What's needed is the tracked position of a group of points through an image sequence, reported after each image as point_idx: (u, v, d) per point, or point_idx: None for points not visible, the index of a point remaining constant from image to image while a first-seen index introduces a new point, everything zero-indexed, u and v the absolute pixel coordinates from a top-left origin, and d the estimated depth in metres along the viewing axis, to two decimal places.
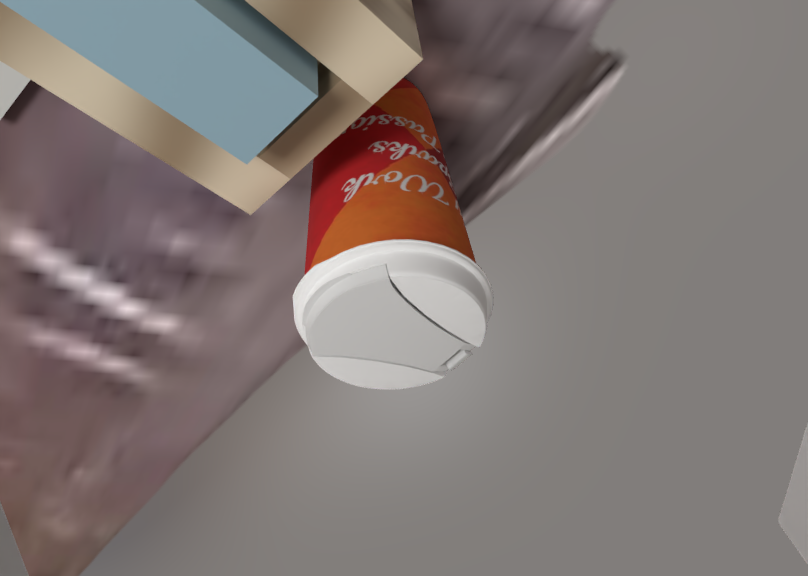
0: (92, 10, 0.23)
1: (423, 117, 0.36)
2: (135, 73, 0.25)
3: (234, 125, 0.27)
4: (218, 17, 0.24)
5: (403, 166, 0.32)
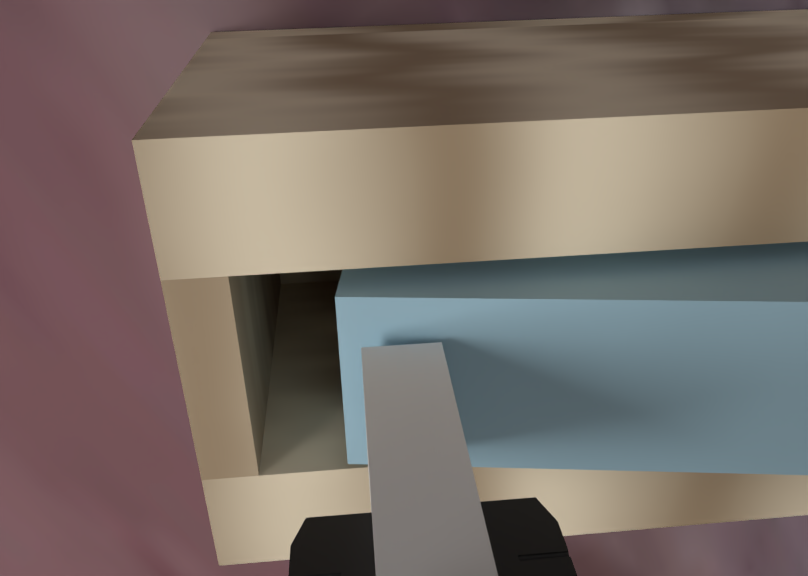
0: None
1: None
2: None
3: None
4: None
5: None
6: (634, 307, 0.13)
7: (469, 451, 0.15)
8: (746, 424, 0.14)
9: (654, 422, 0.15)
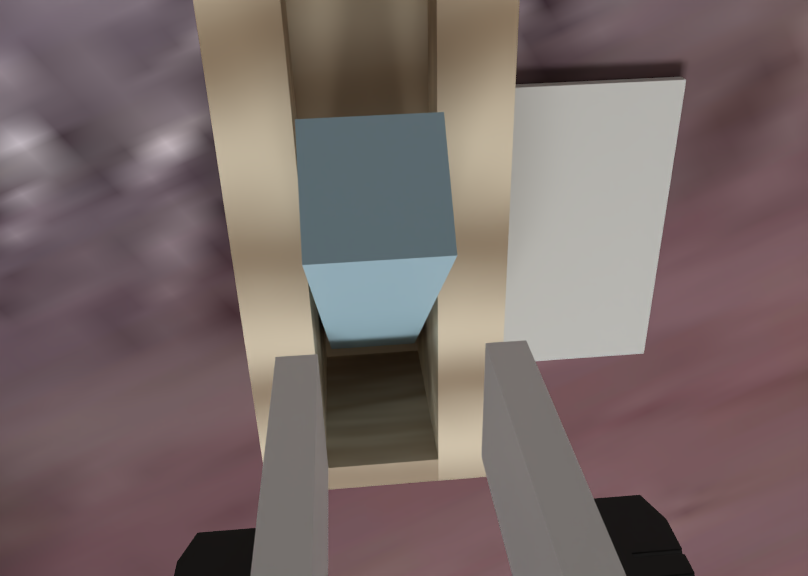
0: (387, 308, 0.26)
1: None
2: (420, 294, 0.24)
3: (412, 270, 0.21)
4: (313, 296, 0.23)
5: None
6: (329, 332, 0.31)
7: (409, 336, 0.34)
8: (394, 318, 0.28)
9: (393, 325, 0.30)
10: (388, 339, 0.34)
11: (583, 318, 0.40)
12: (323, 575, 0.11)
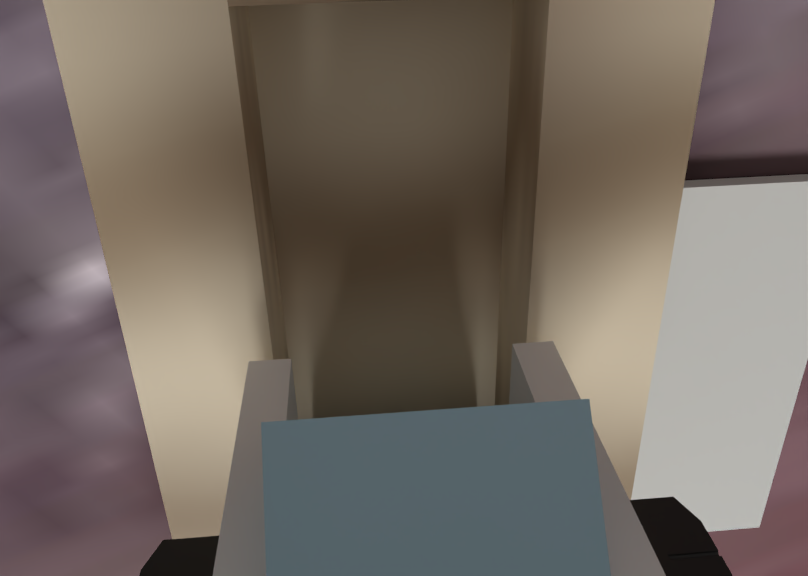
0: None
1: None
2: None
3: None
4: None
5: None
6: None
7: None
8: None
9: None
10: None
11: (682, 487, 0.29)
12: None
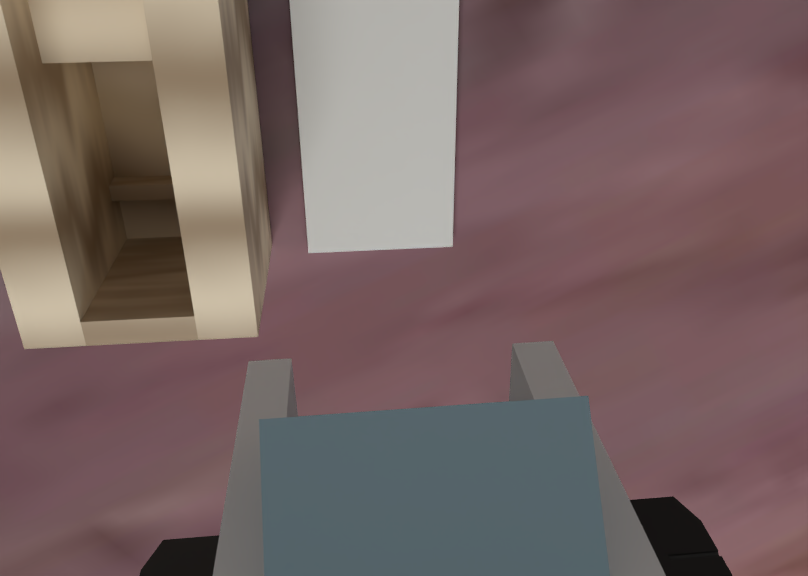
0: None
1: None
2: None
3: None
4: None
5: None
6: None
7: None
8: None
9: None
10: None
11: (386, 207, 0.40)
12: None
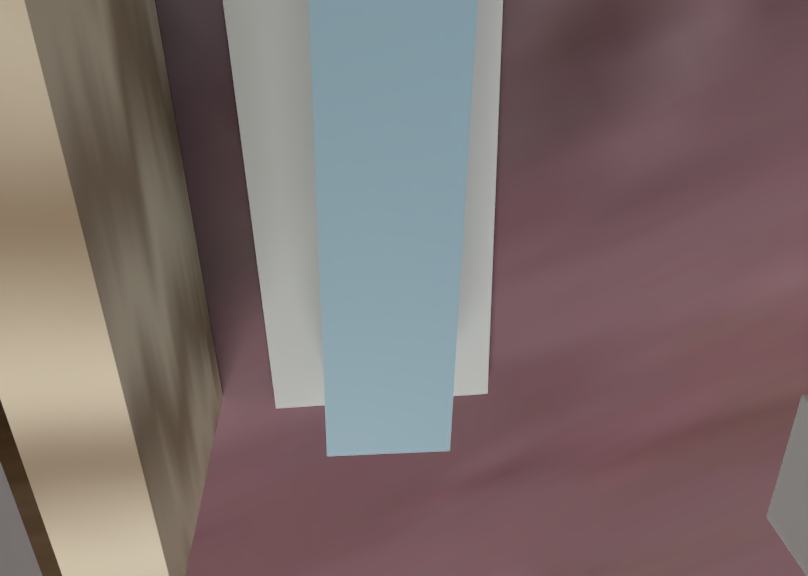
0: (407, 153, 0.19)
1: None
2: (450, 71, 0.19)
3: None
4: (310, 37, 0.18)
5: None
6: (326, 312, 0.22)
7: (440, 388, 0.23)
8: (418, 233, 0.21)
9: (416, 289, 0.21)
10: (411, 403, 0.23)
11: None
12: None
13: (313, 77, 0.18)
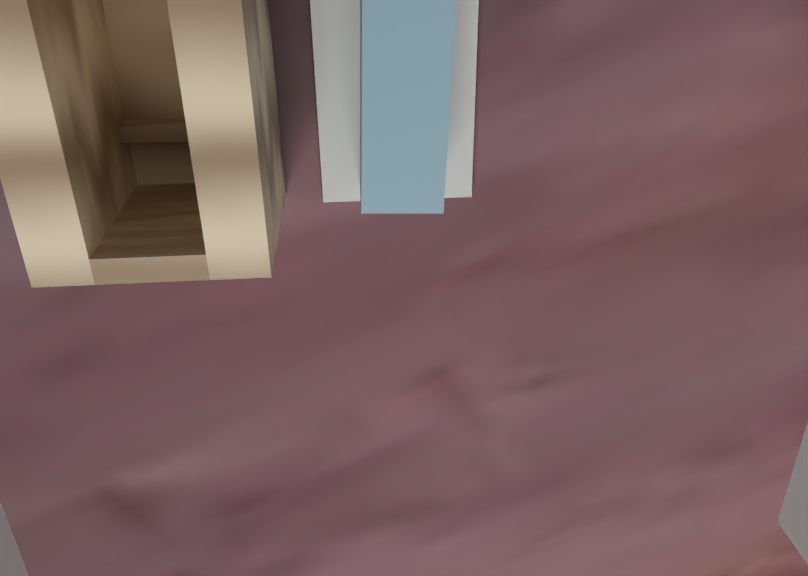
0: None
1: None
2: None
3: None
4: None
5: None
6: (365, 103, 0.34)
7: (437, 164, 0.35)
8: (424, 47, 0.33)
9: (423, 88, 0.33)
10: (418, 174, 0.35)
11: None
12: None
13: None
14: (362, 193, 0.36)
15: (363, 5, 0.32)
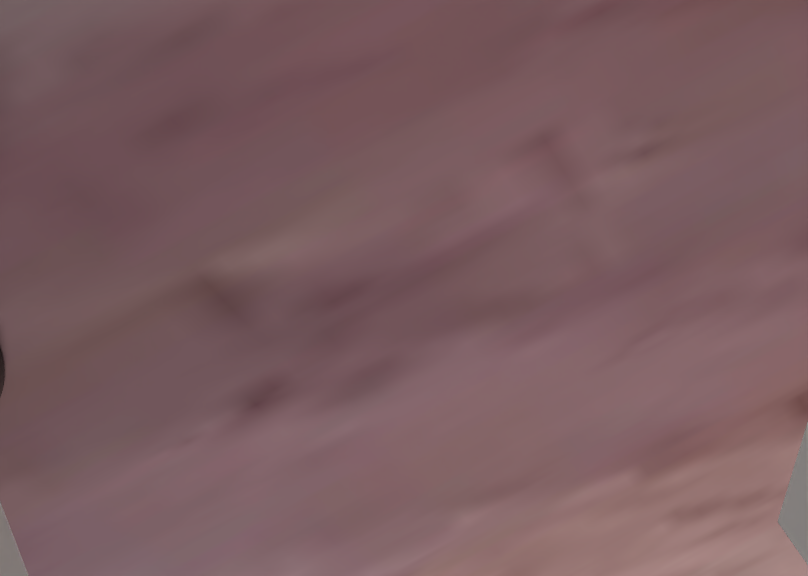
0: None
1: None
2: None
3: None
4: None
5: None
6: None
7: None
8: None
9: None
10: None
11: None
12: None
13: None
14: None
15: None
